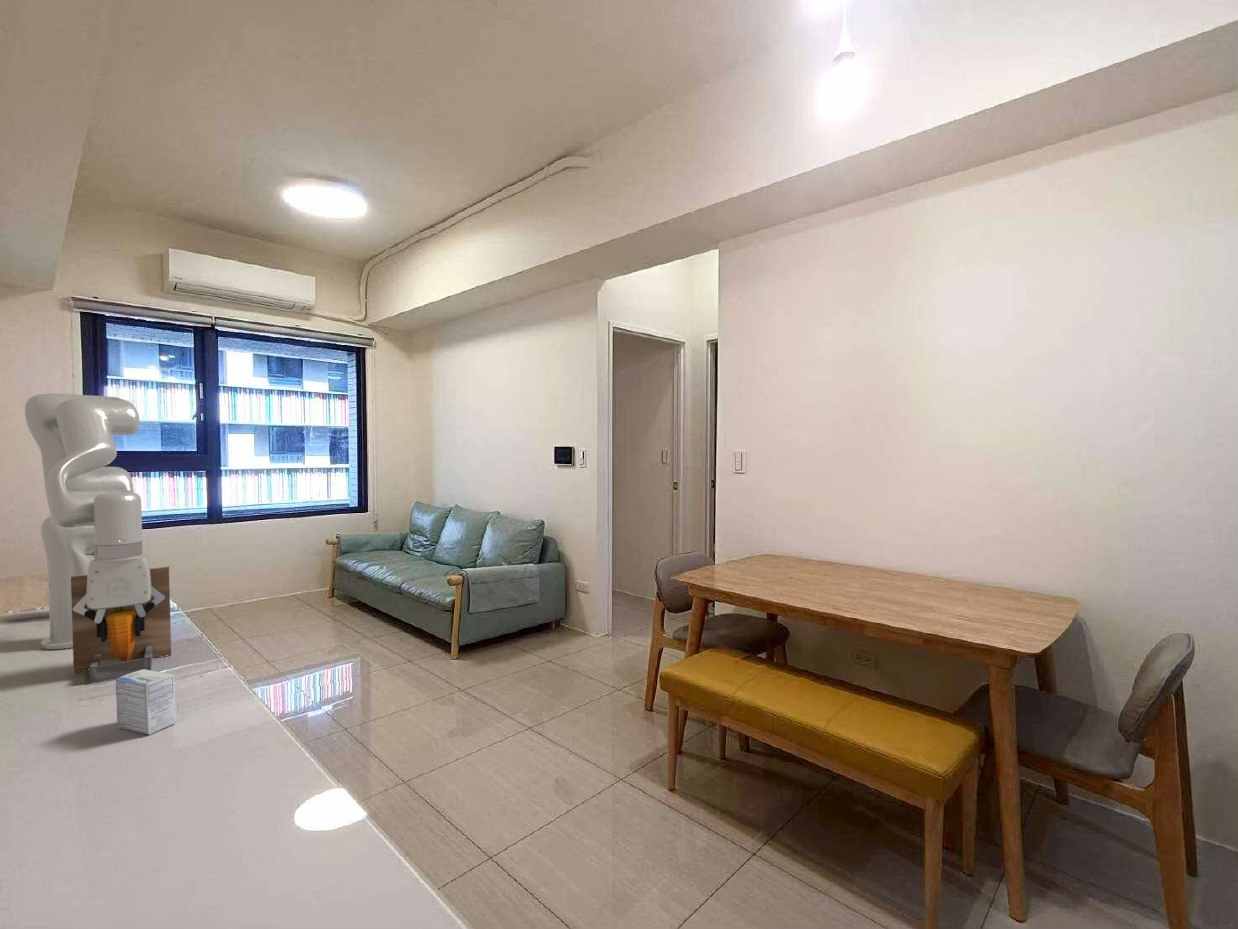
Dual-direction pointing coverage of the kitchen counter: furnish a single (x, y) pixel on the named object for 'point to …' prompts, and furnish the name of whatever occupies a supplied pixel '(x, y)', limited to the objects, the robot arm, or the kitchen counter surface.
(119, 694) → the medicine box
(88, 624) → the wall holder
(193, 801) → the kitchen counter surface
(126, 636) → the carrot
